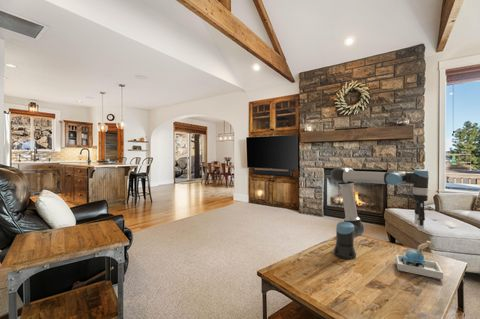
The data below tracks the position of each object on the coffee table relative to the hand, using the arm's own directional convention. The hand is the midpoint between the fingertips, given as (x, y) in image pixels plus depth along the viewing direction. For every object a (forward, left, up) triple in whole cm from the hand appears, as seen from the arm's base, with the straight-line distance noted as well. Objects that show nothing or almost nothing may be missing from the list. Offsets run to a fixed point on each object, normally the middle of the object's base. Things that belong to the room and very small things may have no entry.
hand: (418, 227), depth 149 cm
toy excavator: (0, 0, -26) cm, 26 cm away
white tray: (0, 0, -28) cm, 28 cm away
